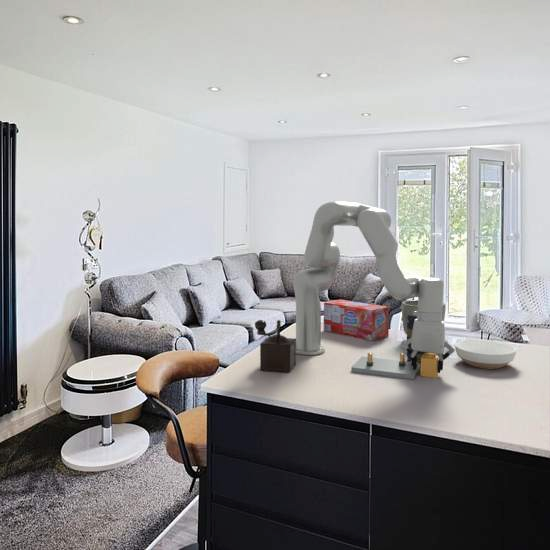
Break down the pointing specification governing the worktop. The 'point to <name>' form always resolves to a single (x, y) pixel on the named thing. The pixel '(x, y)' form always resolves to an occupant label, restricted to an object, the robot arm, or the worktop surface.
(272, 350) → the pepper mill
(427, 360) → the yellow cube with sphere
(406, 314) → the planter
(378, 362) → the plate
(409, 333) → the canister
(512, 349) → the bowl
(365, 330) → the box
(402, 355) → the copper post
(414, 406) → the worktop surface
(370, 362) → the copper post
